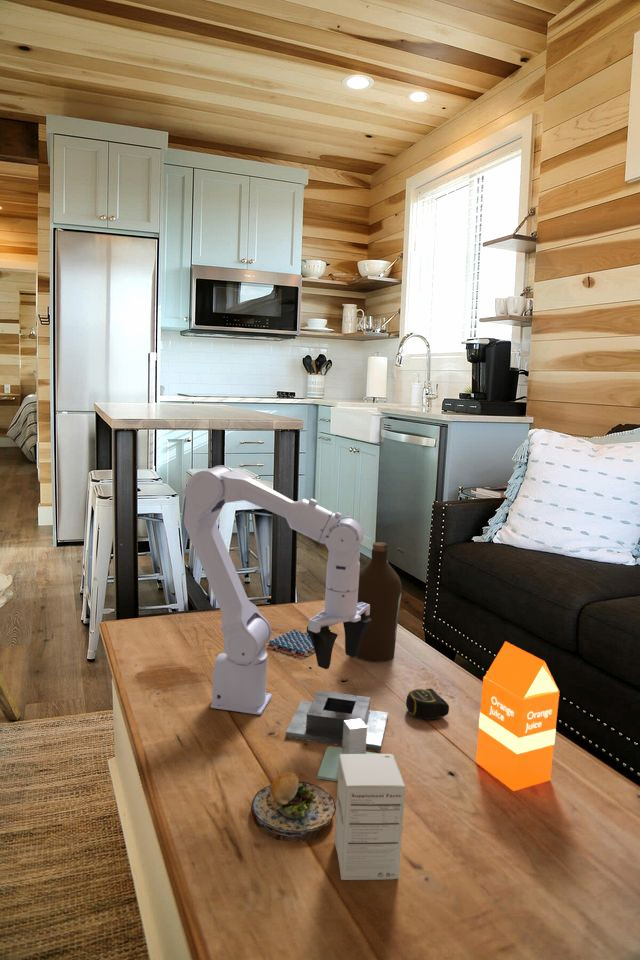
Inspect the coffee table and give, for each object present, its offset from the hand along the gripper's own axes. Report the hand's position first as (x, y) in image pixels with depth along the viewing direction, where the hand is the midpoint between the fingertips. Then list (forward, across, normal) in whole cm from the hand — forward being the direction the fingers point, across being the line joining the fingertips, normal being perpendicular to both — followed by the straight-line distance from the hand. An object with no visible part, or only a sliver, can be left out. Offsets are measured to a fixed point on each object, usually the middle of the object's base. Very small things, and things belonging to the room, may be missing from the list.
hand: (337, 661), depth 126 cm
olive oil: (+10, +28, +13) cm, 33 cm away
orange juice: (+10, +7, -31) cm, 34 cm away
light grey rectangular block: (+10, -11, -13) cm, 20 cm away
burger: (+11, -26, -15) cm, 32 cm away
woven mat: (+11, +19, +27) cm, 35 cm away
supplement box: (+10, -26, -28) cm, 40 cm away
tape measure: (+11, +14, -11) cm, 20 cm away
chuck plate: (+10, -3, -3) cm, 11 cm away
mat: (+10, -11, -13) cm, 20 cm away
